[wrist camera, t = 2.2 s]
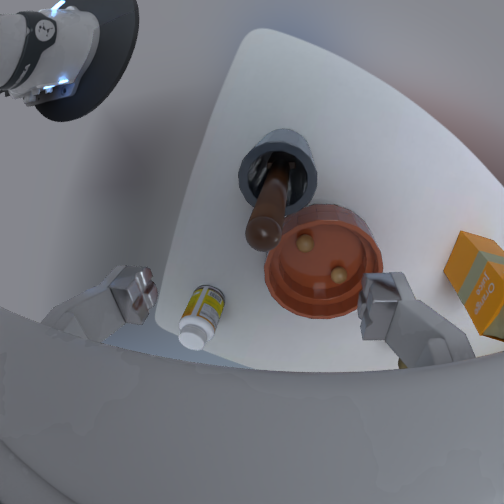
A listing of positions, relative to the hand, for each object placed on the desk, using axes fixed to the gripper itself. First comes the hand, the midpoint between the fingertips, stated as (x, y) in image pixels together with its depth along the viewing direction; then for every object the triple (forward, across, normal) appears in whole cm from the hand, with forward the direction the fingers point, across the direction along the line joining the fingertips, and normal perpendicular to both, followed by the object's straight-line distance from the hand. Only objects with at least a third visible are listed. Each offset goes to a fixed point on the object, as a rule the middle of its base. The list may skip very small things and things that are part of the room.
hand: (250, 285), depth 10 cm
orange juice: (+26, -31, +14) cm, 43 cm away
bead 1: (+24, -2, +11) cm, 26 cm away
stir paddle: (+25, 0, 0) cm, 25 cm away
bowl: (+26, -5, +14) cm, 30 cm away
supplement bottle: (+26, +13, +23) cm, 37 cm away
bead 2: (+24, -7, +16) cm, 30 cm away
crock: (+26, 0, 0) cm, 26 cm away
